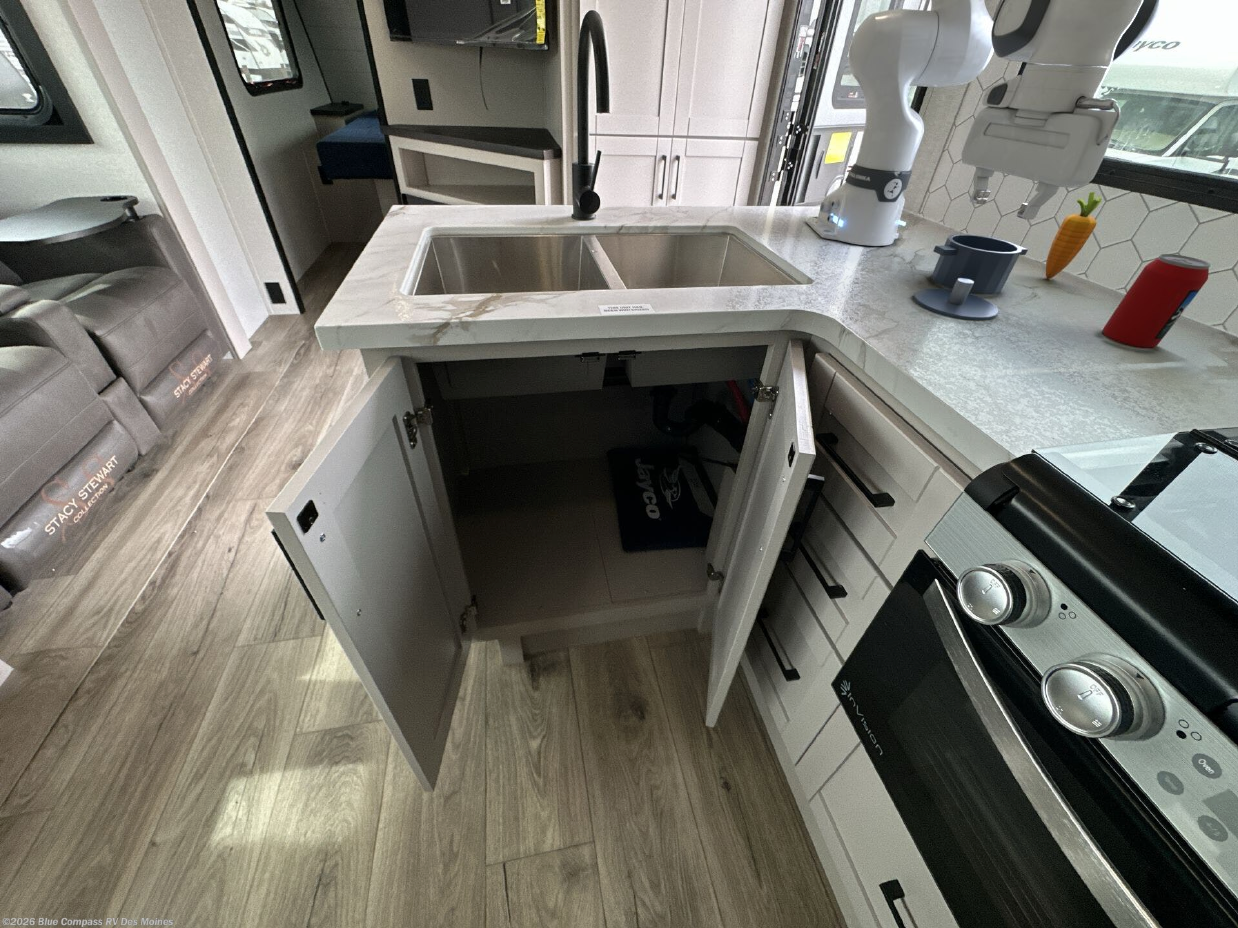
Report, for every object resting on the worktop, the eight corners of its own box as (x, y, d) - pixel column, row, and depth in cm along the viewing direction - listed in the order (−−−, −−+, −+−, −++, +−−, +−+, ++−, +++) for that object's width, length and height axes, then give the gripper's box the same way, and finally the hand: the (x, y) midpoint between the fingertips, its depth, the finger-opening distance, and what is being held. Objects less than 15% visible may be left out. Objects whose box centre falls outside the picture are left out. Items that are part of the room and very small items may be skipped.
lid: (897, 295, 88) (907, 268, 85) (959, 294, 90) (972, 267, 87) (944, 325, 79) (957, 295, 76) (1013, 323, 81) (1029, 294, 78)
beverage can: (1164, 354, 74) (1231, 270, 66) (1113, 348, 75) (1172, 264, 67) (1137, 335, 79) (1196, 255, 72) (1089, 330, 80) (1142, 250, 72)
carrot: (1058, 285, 97) (1110, 197, 87) (1029, 277, 100) (1076, 192, 90) (1066, 280, 99) (1116, 194, 90) (1037, 273, 102) (1083, 189, 93)
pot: (904, 276, 97) (921, 234, 92) (981, 275, 99) (1001, 234, 95) (944, 298, 88) (964, 253, 83) (1027, 296, 91) (1051, 253, 86)
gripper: (1150, 101, 59) (1078, 229, 68) (1015, 91, 75) (970, 196, 83) (1105, 99, 58) (1038, 229, 67) (977, 89, 74) (936, 195, 82)
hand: (999, 210), depth 75 cm, fingers open, 8 cm apart
